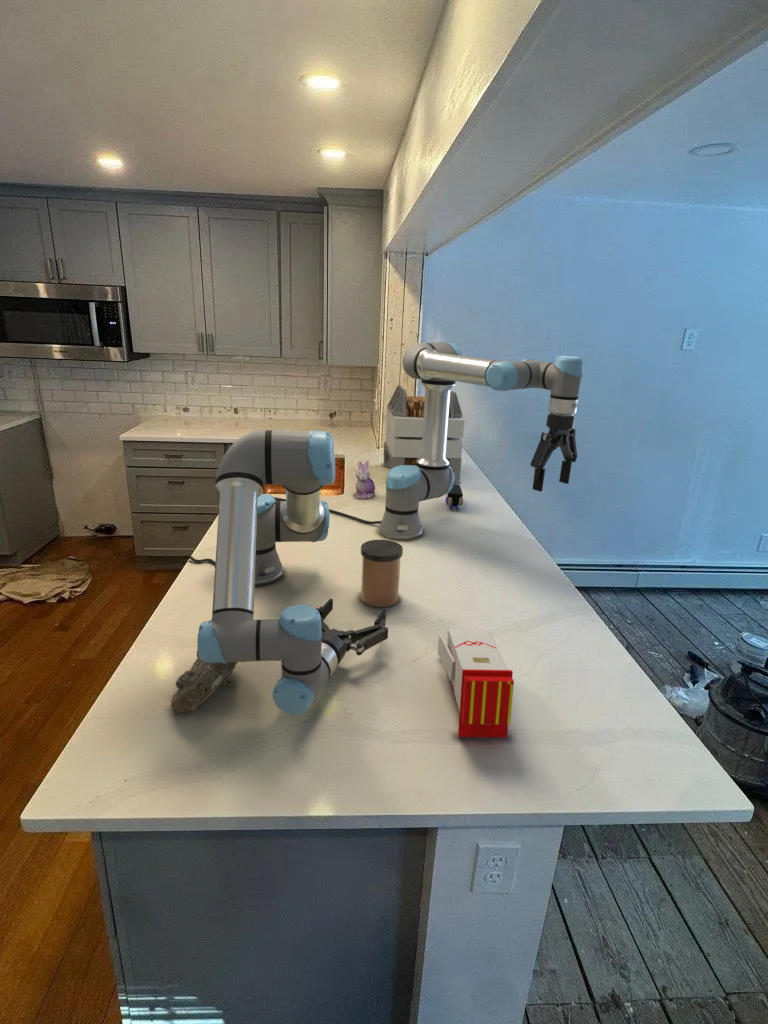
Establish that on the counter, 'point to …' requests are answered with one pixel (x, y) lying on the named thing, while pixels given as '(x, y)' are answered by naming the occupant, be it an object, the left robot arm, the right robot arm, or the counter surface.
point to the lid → (381, 550)
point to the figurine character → (454, 497)
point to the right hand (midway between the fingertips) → (550, 486)
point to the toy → (478, 682)
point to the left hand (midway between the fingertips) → (357, 608)
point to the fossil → (199, 684)
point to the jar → (380, 582)
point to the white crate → (419, 431)
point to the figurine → (364, 482)
